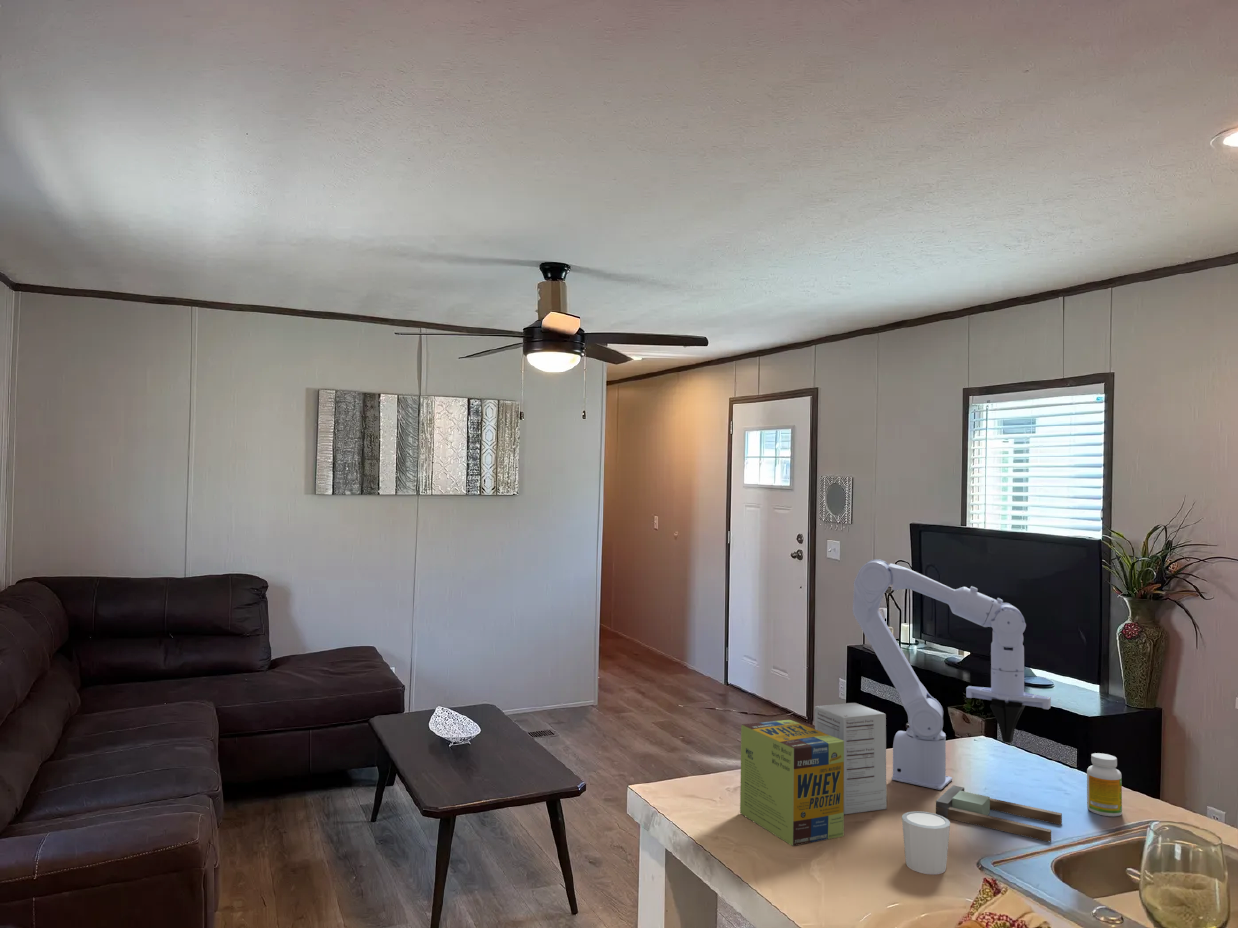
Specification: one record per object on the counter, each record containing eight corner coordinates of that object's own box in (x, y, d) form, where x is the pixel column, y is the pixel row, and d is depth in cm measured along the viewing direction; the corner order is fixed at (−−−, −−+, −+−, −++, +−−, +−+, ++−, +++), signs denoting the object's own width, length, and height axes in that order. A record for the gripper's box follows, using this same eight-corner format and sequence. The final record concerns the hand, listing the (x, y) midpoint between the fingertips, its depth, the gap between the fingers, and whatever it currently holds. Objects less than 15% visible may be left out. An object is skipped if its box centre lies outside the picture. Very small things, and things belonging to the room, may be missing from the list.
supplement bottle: (1127, 818, 148) (1126, 761, 148) (1093, 815, 149) (1092, 759, 149) (1115, 807, 153) (1115, 752, 154) (1082, 804, 154) (1082, 750, 155)
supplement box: (888, 809, 150) (888, 713, 151) (844, 815, 147) (844, 717, 148) (855, 791, 159) (855, 701, 160) (813, 797, 156) (813, 704, 157)
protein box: (793, 847, 134) (793, 747, 134) (738, 813, 148) (739, 723, 148) (845, 836, 138) (846, 740, 139) (788, 805, 152) (788, 717, 153)
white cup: (894, 856, 131) (894, 810, 131) (937, 855, 131) (937, 809, 132) (913, 876, 124) (913, 828, 124) (958, 875, 124) (958, 827, 125)
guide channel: (935, 815, 148) (935, 800, 148) (953, 798, 156) (953, 785, 156) (1049, 841, 137) (1049, 826, 137) (1061, 822, 145) (1061, 807, 146)
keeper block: (952, 815, 149) (952, 797, 149) (960, 807, 153) (960, 790, 153) (982, 822, 146) (982, 804, 146) (989, 813, 150) (989, 796, 150)
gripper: (961, 666, 163) (961, 738, 162) (1045, 677, 154) (1045, 753, 153) (971, 661, 168) (971, 730, 168) (1052, 671, 160) (1053, 744, 159)
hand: (1007, 741), depth 161 cm, fingers closed
